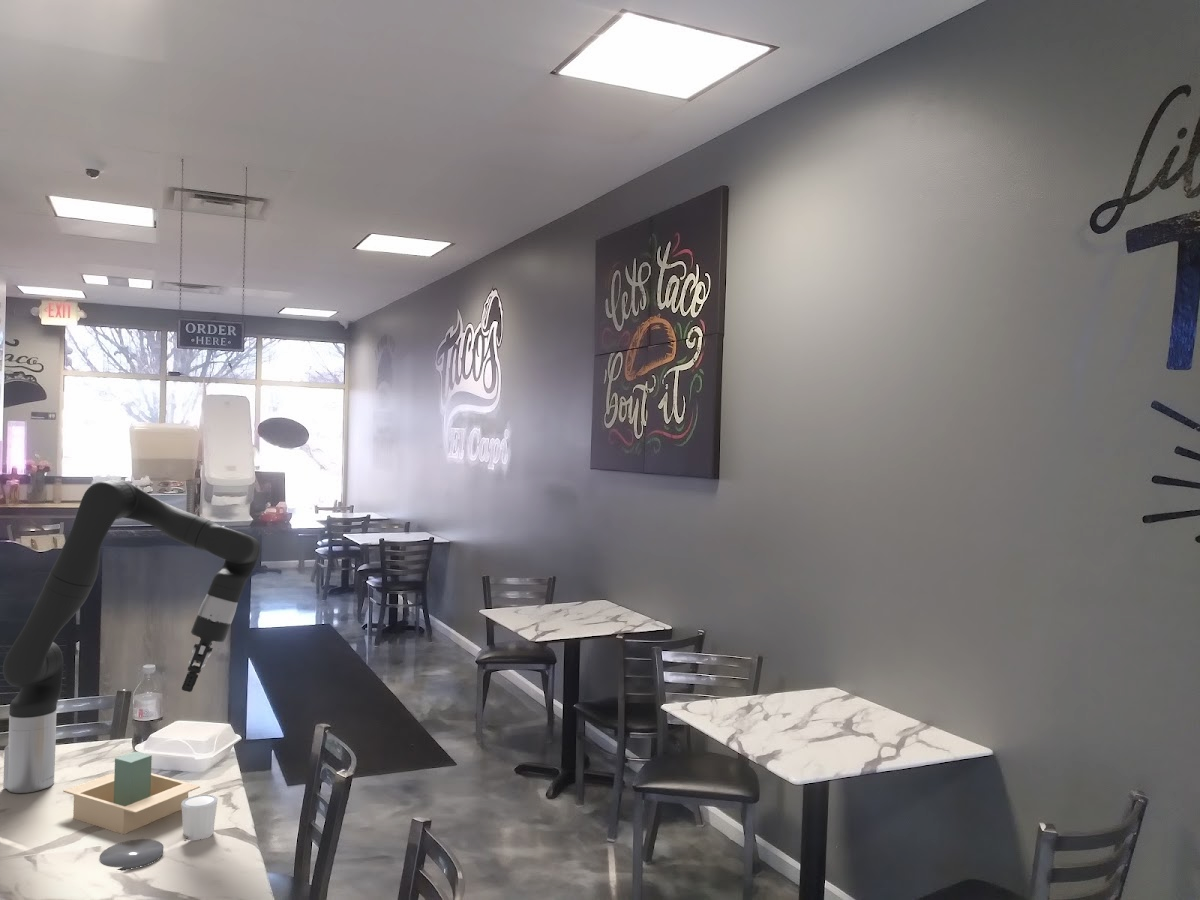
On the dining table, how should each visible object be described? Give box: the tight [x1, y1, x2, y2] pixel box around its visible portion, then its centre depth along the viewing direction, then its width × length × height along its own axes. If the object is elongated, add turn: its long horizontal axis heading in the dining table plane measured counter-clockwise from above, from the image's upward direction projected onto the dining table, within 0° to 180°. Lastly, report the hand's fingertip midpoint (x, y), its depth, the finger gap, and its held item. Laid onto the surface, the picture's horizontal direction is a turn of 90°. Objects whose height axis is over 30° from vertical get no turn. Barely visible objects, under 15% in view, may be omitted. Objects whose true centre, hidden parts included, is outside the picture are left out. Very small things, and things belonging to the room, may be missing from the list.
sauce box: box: [114, 751, 153, 806], centre depth 189 cm, size 5×5×12 cm
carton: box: [62, 771, 201, 835], centre depth 189 cm, size 23×16×6 cm
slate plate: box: [99, 838, 164, 871], centre depth 171 cm, size 11×11×1 cm
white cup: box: [181, 794, 218, 841], centre depth 181 cm, size 7×7×7 cm
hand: (187, 688), depth 197 cm, fingers open, 8 cm apart
